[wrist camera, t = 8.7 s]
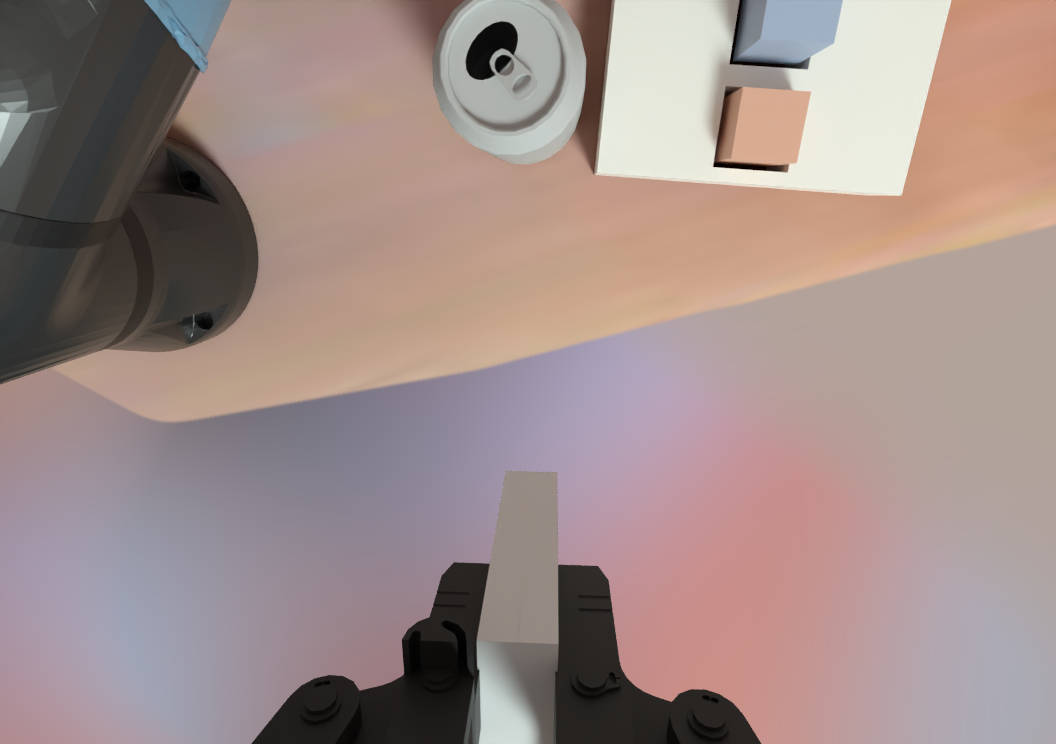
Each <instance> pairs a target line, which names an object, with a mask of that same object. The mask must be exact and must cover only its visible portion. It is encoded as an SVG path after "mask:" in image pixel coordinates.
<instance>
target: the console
mask: <svg viewBox="0 0 1056 744" xmlns="http://www.w3.org/2000/svg"><path fill="white" fill-rule="evenodd" d="M950 4H951V0H843V2H842V7H841V12H840V17H839V22H838V26H837V31H836V36H835V41H834V44H832V45H830V46H829V47H827V48H825V49H823V50H821V51H820V52H818V53H816V54H814V55H813V56H811V57H809V58H807V59H805V60H804V61H802V62H800V63H798V64H797V65H787V64H786V67H785V68H777V67H762V66H747V65H732V64H729V63H730V57H731V50H732V44H733V38H734V32H735V25H736V19H737V13H738V7H739V0H612V4H611V14H610V23H609V33H608V43H607V53H606V63H605V73H604V82H603V92H602V102H601V112H600V122H599V131H598V141H597V151H596V161H595V171H594V175H603V176H616V177H630V178H643V179H656V180H670V181H683V182H696V183H710V184H723V185H736V186H749V187H763V188H776V189H789V190H803V191H816V192H829V193H843V194H856V195H898V196H901V195H902V191H903V187H904V183H905V180H906V176H907V172H908V168H909V164H910V160H911V156H912V152H913V148H914V144H915V140H916V137H917V133H918V129H919V125H920V121H921V117H922V113H923V109H924V105H925V101H926V98H927V94H928V90H929V86H930V82H931V78H932V74H933V70H934V66H935V62H936V59H937V55H938V51H939V47H940V43H941V39H942V35H943V31H944V27H945V23H946V20H947V16H948V12H949V8H950ZM742 87H752V88H766V89H781V90H796V91H810V92H811V95H810V100H809V105H808V110H807V115H806V120H805V125H804V130H803V135H802V140H801V144H800V149H799V154H798V159H797V163H793V164H786V165H778V166H771V167H767V169H766V171H759V170H746V169H732V168H719V167H713V163H714V157H715V150H716V144H717V138H718V132H719V125H720V119H721V113H722V107H723V100H724V98H726V97H727V96H729V95H731V94H732V93H734V92H736V91H737V90H739V89H740V88H742Z"/></svg>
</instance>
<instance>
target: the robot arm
mask: <svg viewBox="0 0 1056 744" xmlns="http://www.w3.org/2000/svg"><path fill="white" fill-rule="evenodd" d="M230 2H231V0H0V384H3V383H6V382H9V381H12V380H15V379H18V378H21V377H24V376H27V375H30V374H33V373H35V372H39V371H42V370H44V369H47V368H50V367H53V366H56V365H59V364H62V363H65V362H68V361H71V360H74V359H77V358H80V357H83V356H86V355H89V354H91V353H94V352H97V351H100V350H103V349H112V350H129V351H146V352H166V351H174V350H179V349H184V348H187V347H190V346H193V345H196V344H198V343H201V342H203V341H206V340H208V339H210V338H213V337H215V336H217V335H218V334H220V333H222V332H223V331H225V330H226V329H227V328H228V327H230V326H231V325H232V324H233V323H234V322H235V321H236V320H237V319H238V318H239V316H240V315H241V314H242V312H243V311H244V309H245V308H246V306H247V304H248V302H249V300H250V298H251V296H252V293H253V290H254V287H255V283H256V278H257V271H258V249H257V241H256V236H255V232H254V228H253V225H252V222H251V219H250V216H249V214H248V211H247V209H246V207H245V205H244V203H243V201H242V199H241V198H240V196H239V194H238V193H237V191H236V190H235V188H234V187H233V185H232V184H231V183H230V181H229V180H228V179H227V178H226V177H225V175H224V174H223V173H222V172H221V171H220V170H219V169H218V168H217V167H216V166H215V165H214V164H213V163H211V162H210V161H209V160H208V159H207V158H205V157H204V156H203V155H201V154H200V153H199V152H197V151H195V150H194V149H192V148H191V147H189V146H187V145H185V144H183V143H181V142H179V141H176V140H174V139H171V138H168V137H166V135H167V133H168V131H169V129H170V127H171V125H172V123H173V121H174V120H175V118H176V116H177V114H178V112H179V110H180V108H181V106H182V104H183V102H184V100H185V99H186V97H187V95H188V93H189V91H190V89H191V87H192V85H193V83H194V81H195V80H196V78H197V76H198V74H199V72H200V71H201V72H203V73H204V72H205V71H206V69H207V67H208V60H207V57H206V56H207V54H208V51H209V49H210V47H211V45H212V42H213V40H214V38H215V36H216V33H217V31H218V29H219V27H220V24H221V22H222V20H223V18H224V16H225V13H226V11H227V9H228V7H229V4H230ZM557 508H558V507H557V473H556V472H525V471H506V473H505V479H504V484H503V490H502V496H501V502H500V508H499V513H498V519H497V525H496V532H495V537H494V542H493V548H492V554H491V560H490V564H483V563H455V562H454V563H453V564H452V565H451V566H450V567H449V568H448V570H447V571H446V572H445V573H444V574H443V575H442V577H441V580H440V584H439V587H438V590H437V595H436V598H435V601H434V604H433V608H432V611H431V614H430V617H429V618H426V619H424V620H421V621H419V622H417V623H416V624H415V625H413V626H412V627H411V628H409V629H408V630H407V632H406V634H405V635H404V637H403V639H402V648H403V662H404V675H403V676H402V677H400V678H398V679H396V680H394V681H393V682H391V683H388V684H385V685H382V686H378V687H374V688H369V689H365V690H361V691H359V689H358V688H357V686H356V685H355V684H354V682H353V681H351V680H349V679H347V678H345V677H343V676H334V675H328V676H324V677H319V678H315V679H313V680H311V681H310V682H307V683H306V684H304V685H302V686H301V687H299V688H298V689H297V690H296V691H295V692H294V693H293V694H292V695H291V696H290V697H289V698H288V699H287V701H286V702H285V703H284V704H283V705H282V707H281V708H280V709H279V710H278V712H277V713H276V714H275V715H274V717H273V718H272V719H271V721H269V723H268V724H267V725H266V726H265V728H264V729H263V730H262V732H261V733H260V734H259V735H258V736H257V738H256V739H255V740H254V741H253V742H252V744H761V743H760V741H759V739H758V738H757V736H756V734H755V733H754V731H753V730H752V728H751V726H750V725H749V723H748V722H747V720H746V719H745V717H744V715H743V714H742V713H741V712H740V711H739V709H738V708H737V707H736V706H735V705H734V704H733V703H732V702H731V701H729V700H728V699H726V698H724V697H723V696H721V695H720V694H717V693H714V692H711V691H708V690H693V689H691V690H688V691H686V692H683V693H680V694H679V695H678V696H677V697H676V698H675V699H674V701H672V702H670V701H667V700H664V699H661V698H658V697H655V696H652V695H650V694H648V693H645V692H643V691H642V690H640V689H639V688H637V687H636V686H634V685H633V684H632V683H631V682H630V681H629V680H628V679H627V677H626V676H625V674H624V672H623V671H622V669H621V666H620V662H619V655H618V648H617V640H616V633H615V626H614V618H613V613H612V604H611V598H610V597H611V596H610V589H609V582H608V579H607V578H606V576H605V575H604V574H603V572H602V571H601V570H600V568H599V567H598V566H581V565H558V511H557Z"/></svg>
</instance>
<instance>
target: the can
mask: <svg viewBox="0 0 1056 744" xmlns="http://www.w3.org/2000/svg"><path fill="white" fill-rule="evenodd" d="M585 78H586V56H585V52H584V48H583V44H582V40H581V36H580V33H579V31H578V30H577V28H576V26H575V25H574V23H573V21H572V20H571V18H570V16H569V15H568V13H567V11H566V10H565V9H564V8H563V7H562V6H560V5H559V4H558V3H557V2H556V1H555V0H465V1H463V2H462V3H461V4H460V5H459V6H457V7H456V8H455V9H454V10H453V11H452V13H451V15H450V16H449V18H448V20H447V21H446V23H445V24H444V26H443V28H442V29H441V31H440V33H439V36H438V40H437V44H436V48H435V52H434V55H433V86H434V89H435V92H436V95H437V98H438V102H439V105H440V108H441V111H442V112H443V114H444V115H445V117H446V118H447V120H448V121H449V123H450V124H451V125H452V127H453V128H454V130H455V131H456V132H457V133H458V134H460V135H461V136H462V137H463V138H465V139H466V140H467V141H468V142H470V143H471V144H472V145H473V146H475V147H477V148H479V149H481V150H482V151H484V152H486V153H488V154H490V155H492V156H494V157H496V158H499V159H501V160H504V161H507V162H510V163H512V164H533V163H536V162H539V161H542V160H545V159H548V158H550V157H551V156H552V155H554V154H555V153H556V152H558V151H559V150H560V149H562V148H563V147H564V146H565V144H566V143H567V141H568V140H569V139H570V137H571V136H572V135H573V133H574V132H575V129H576V126H577V123H578V120H579V117H580V114H581V109H582V103H583V97H584V91H585Z"/></svg>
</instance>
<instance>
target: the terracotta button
mask: <svg viewBox="0 0 1056 744" xmlns="http://www.w3.org/2000/svg"><path fill="white" fill-rule="evenodd" d="M810 95H811V92H810V91H796V90H781V89H766V88H752V87H742V88H740V89H739V90H737V91H736V92H734V93H732V94H731V95H729V96H727V97H726V98H724V100H723V107H722V113H721V119H720V125H719V132H718V138H717V144H716V150H715V157H714V163H718V164H732V165H746V166H759V167H771V166H778V165H786V164H793V163H797V159H798V154H799V149H800V144H801V140H802V135H803V130H804V125H805V120H806V115H807V110H808V105H809V100H810Z"/></svg>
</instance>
